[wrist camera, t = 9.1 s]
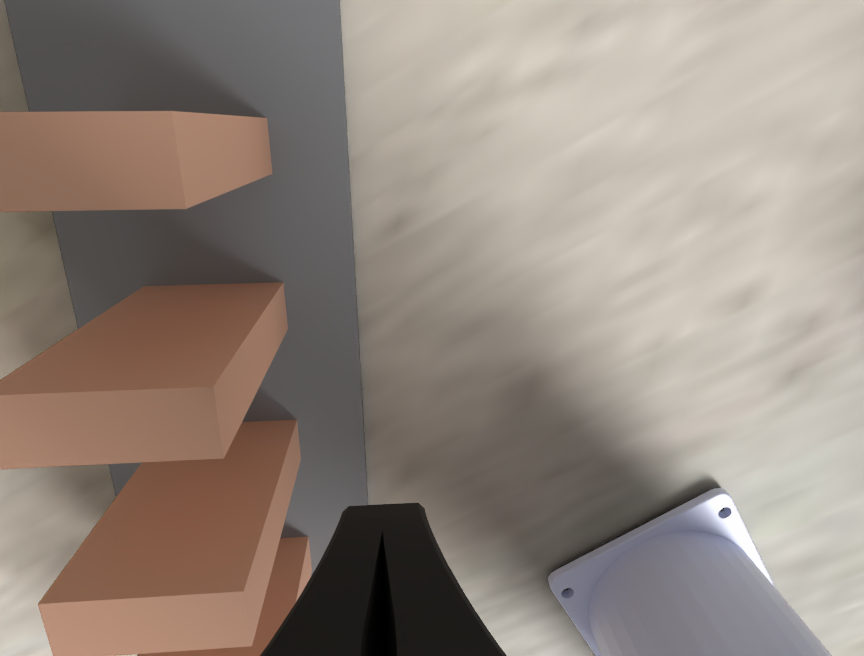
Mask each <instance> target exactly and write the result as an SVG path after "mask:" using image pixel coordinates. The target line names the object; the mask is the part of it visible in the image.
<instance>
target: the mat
mask: <svg viewBox="0 0 864 656" xmlns="http://www.w3.org/2000/svg"><path fill="white" fill-rule="evenodd" d="M4 2H5V6H6V11H7V15H8V20H9V24H10V29H11V33H12V37H13V42H14V46H15V51H16V55H17V60H18V64H19V68H20V73H21V77H22V82H23V86H24V91H25V95H26V99H27V104H28V108H29V112H73V111H179V112H193V113H206V114H220V115H233V116H247V117H260V118H267V121H268V132H269V142H270V153H271V163H272V174H271V175H268V176H266V177H263V178H261V179H259V180H256V181H254V182H251V183H249V184H246V185H244V186H241V187H239V188H236V189H234V190H231V191H229V192H227V193H224V194H222V195H219V196H217V197H214V198H212V199H209V200H207V201H204V202H202V203H199V204H197V205H195V206H192V207H190V208H187V209H149V210H89V211H52V215H53V219H54V223H55V228H56V232H57V237H58V241H59V246H60V250H61V254H62V259H63V263H64V268H65V272H66V277H67V281H68V286H69V290H70V294H71V299H72V303H73V308H74V312H75V317H76V321H77V325H78V329H79V328H81V327H82V326H84V325H85V324H87V323H88V322H90V321H91V320H93V319H94V318H96V317H97V316H99V315H101V314H102V313H104V312H105V311H107V310H108V309H110V308H111V307H113V306H114V305H116V304H117V303H119V302H120V301H122V300H124V299H125V298H127V297H128V296H130V295H131V294H133V293H134V292H136V291H137V290H139V289H140V288H142V287H143V286H170V285H204V284H239V283H274V282H283V283H284V293H285V303H286V313H287V323H288V330H287V332H286V334H285V336H284V338H283V340H282V342H281V344H280V346H279V348H278V350H277V352H276V354H275V356H274V358H273V360H272V362H271V364H270V366H269V368H268V370H267V372H266V374H265V376H264V378H263V380H262V382H261V384H260V387H259V389H258V391H257V393H256V395H255V397H254V399H253V401H252V403H251V405H250V407H249V409H248V411H247V413H246V415H245V417H244V419H243V421H242V422H255V421H278V420H297V424H298V434H299V445H300V455H301V461H300V465H299V468H298V472H297V476H296V480H295V484H294V487H293V491H292V495H291V499H290V503H289V507H288V510H287V514H286V518H285V522H284V526H283V529H282V533H281V537H280V538H292V537H309V546H310V556H311V566H312V573H311V576H312V574H313V572H314V571H315V569H316V567H317V565H318V564H319V562H320V560H321V558H322V556H323V554H324V552H325V550H326V548H327V546H328V544H329V542H330V540H331V538H332V536H333V534H334V532H335V530H336V527H337V525H338V523H339V520H340V517H341V514H342V512H343V511H344V510H345V509H346V508H347V507H348V506H361V505H368V495H367V477H366V459H365V442H364V424H363V406H362V389H361V371H360V353H359V335H358V318H357V300H356V282H355V264H354V247H353V229H352V211H351V193H350V176H349V158H348V140H347V123H346V105H345V87H344V69H343V52H342V34H341V16H340V0H4ZM141 463H142V462H140V463H119V464H109V467H110V472H111V476H112V480H113V485H114V489H115V494H116V497H117V496H118V494H119V493H120V491H121V490H122V489H123V487H124V486H125V485H126V483H127V482H128V481H129V479H130V478H131V476H132V475H133V474H134V472H135V471H136V470H137V468H138V467H139V466H140V464H141Z"/></svg>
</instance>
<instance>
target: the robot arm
mask: <svg viewBox="0 0 864 656" xmlns="http://www.w3.org/2000/svg"><path fill="white" fill-rule="evenodd" d="M722 508H725V509H724V510H723V511H721V512H719V511H720V510H721V509H722ZM548 583H549V586H550V588H551V591H552V592H553V594H554V595H555V597H556V598H557V599H558V601H559V602H560V604H561V605H562V607H563V608H564V610H565V611H566V613H567V614H568V616H569V617H570V619H571V620H572V622H573V623H574V625H575V626H576V628H577V629H578V631H579V632H580V634H581V635H582V637H583V638H584V640H585V641H586V642H587V644H588V645H589V647H590V648H591V650H592V651H593V653H594V654H595V656H832V655H831V654H830V653H829V651H828V650H827V649H826V648H825V647H824V645H823V644H822V643H821V642H820V641H819V639H818V638H817V637H816V636H815V635H814V634H813V632H812V631H811V630H810V629H809V628H808V626H807V625H806V624H805V623H804V622H803V620H802V619H801V618H800V617H799V616H798V614H797V613H796V612H795V611H794V610H793V609H792V607H791V606H790V605H789V604H788V603H787V601H786V600H785V599H784V598H783V597H782V595H781V594H780V593H779V592H778V591H777V589H776V588H775V586H774V584H773V582H772V580H771V578H770V576H769V574H768V572H767V569H766V567H765V565H764V563H763V561H762V559H761V557H760V555H759V553H758V551H757V549H756V547H755V545H754V543H753V541H752V539H751V537H750V534H749V532H748V530H747V528H746V526H745V524H744V522H743V520H742V518H741V516H740V514H739V512H738V510H737V508H736V506H735V504H734V502H733V499H732V497H731V496H730V495H729V494H728V493H727V492H726V491H725V490H724V489H722V488H715V489H712V490H709V491H708V492H706V493H704V494H702V495H700V496H698V497H696V498H694V499H692V500H690V501H688V502H686V503H684V504H682V505H680V506H679V507H677V508H675V509H673V510H671V511H669V512H667V513H665V514H663V515H661V516H659V517H657V518H655V519H653V520H651V521H650V522H648V523H646V524H644V525H642V526H640V527H638V528H636V529H634V530H632V531H630V532H628V533H626V534H624V535H622V536H621V537H619V538H617V539H615V540H613V541H611V542H609V543H607V544H605V545H603V546H601V547H599V548H597V549H595V550H593V551H592V552H590V553H588V554H586V555H584V556H582V557H580V558H578V559H576V560H574V561H572V562H570V563H568V564H566V565H564V566H563V567H561V568H559V569H557V570H555V571H553V572H552V573H551V574H550V575H549V577H548ZM566 588H570V589H569V590H567V591H563V590H564V589H566ZM260 656H506V654H505V653H504V652H503V650H502V649H501V648H500V646H499V645H498V643H497V642H496V641H495V639H494V638H493V636H492V635H491V634H490V632H489V631H488V629H487V628H486V626H485V625H484V623H483V622H482V620H481V619H480V617H479V616H478V614H477V613H476V611H475V610H474V608H473V607H472V605H471V603H470V602H469V600H468V599H467V597H466V595H465V594H464V592H463V590H462V589H461V587H460V585H459V583H458V582H457V580H456V578H455V576H454V575H453V573H452V571H451V569H450V568H449V566H448V564H447V562H446V560H445V558H444V556H443V554H442V552H441V550H440V548H439V546H438V544H437V542H436V540H435V537H434V535H433V533H432V530H431V528H430V525H429V523H428V520H427V517H426V514H425V510H424V508H423V507H422V506H421V505H420V504H419V503H404V504H383V505H361V506H348V507H347V508H346V509H345V510H344V511H343V512H342V514H341V517H340V520H339V523H338V525H337V527H336V530H335V532H334V534H333V536H332V538H331V540H330V542H329V544H328V546H327V548H326V550H325V552H324V554H323V556H322V558H321V560H320V562H319V564H318V565H317V567H316V569H315V571H314V572H313V574H312V576H311V578H310V579H309V581H308V583H307V585H306V586H305V588H304V590H303V592H302V593H301V595H300V597H299V598H298V600H297V601H296V603H295V604H294V606H293V608H292V609H291V611H290V612H289V614H288V615H287V617H286V618H285V620H284V621H283V623H282V624H281V626H280V627H279V629H278V630H277V632H276V633H275V635H274V636H273V638H272V639H271V641H270V642H269V644H268V645H267V646H266V648H265V649H264V651H263V652H262V653H261V655H260Z"/></svg>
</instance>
